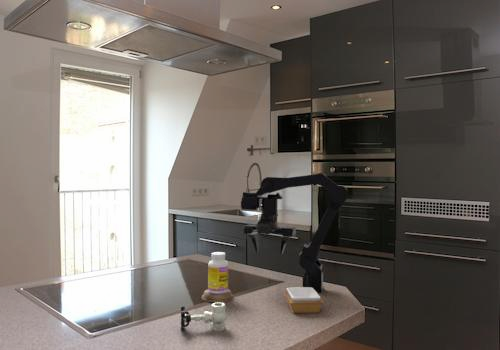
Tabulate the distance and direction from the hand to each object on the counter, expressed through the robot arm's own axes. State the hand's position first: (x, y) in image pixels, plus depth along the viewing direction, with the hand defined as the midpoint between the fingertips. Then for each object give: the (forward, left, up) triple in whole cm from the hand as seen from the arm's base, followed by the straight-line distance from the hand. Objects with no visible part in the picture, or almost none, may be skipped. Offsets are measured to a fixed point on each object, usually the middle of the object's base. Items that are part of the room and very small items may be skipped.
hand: (269, 253), depth 150 cm
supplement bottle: (+12, +19, -10) cm, 25 cm away
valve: (+4, +45, -12) cm, 47 cm away
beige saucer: (+12, +19, -12) cm, 25 cm away
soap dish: (-17, +18, -12) cm, 27 cm away
